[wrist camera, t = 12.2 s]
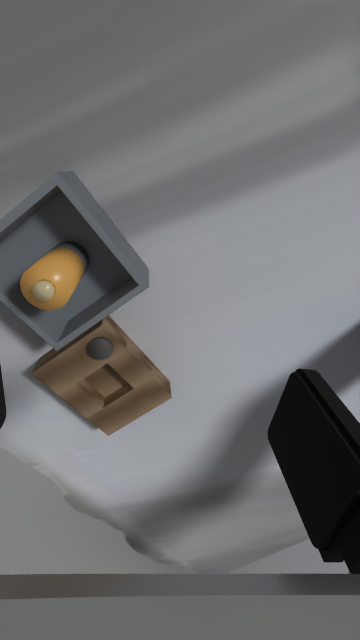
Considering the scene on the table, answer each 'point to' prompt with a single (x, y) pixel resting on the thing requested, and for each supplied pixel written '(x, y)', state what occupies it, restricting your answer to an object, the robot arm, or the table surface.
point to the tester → (104, 377)
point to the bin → (57, 226)
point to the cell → (55, 276)
